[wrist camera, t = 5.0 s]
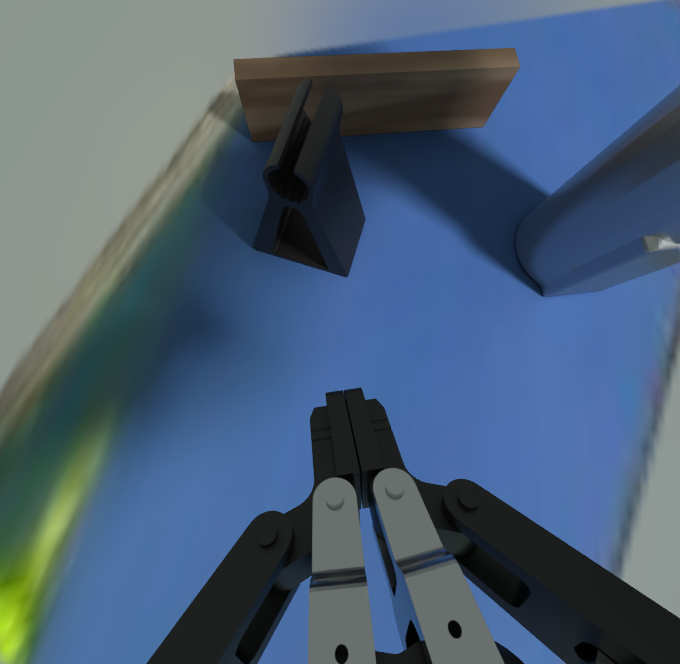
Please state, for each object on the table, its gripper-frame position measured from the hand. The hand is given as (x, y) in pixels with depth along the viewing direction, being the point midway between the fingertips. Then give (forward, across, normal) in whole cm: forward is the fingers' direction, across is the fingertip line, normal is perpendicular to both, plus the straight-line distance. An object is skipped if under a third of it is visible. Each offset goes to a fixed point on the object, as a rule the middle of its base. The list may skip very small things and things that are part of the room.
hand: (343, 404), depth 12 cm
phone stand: (+20, 0, -1) cm, 20 cm away
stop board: (+28, -8, -10) cm, 30 cm away
